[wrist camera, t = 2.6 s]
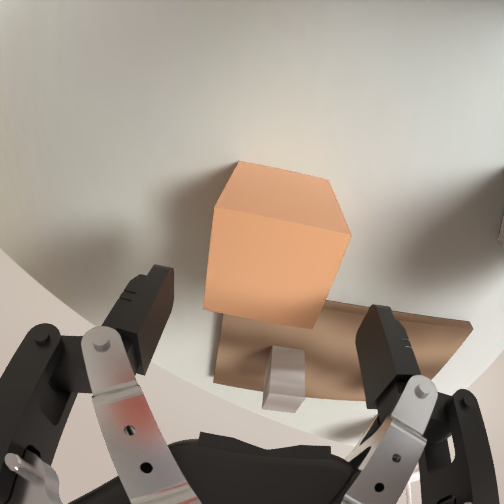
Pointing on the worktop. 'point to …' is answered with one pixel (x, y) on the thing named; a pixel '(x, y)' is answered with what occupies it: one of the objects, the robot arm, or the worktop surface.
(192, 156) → the worktop surface
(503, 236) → the skincare box
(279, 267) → the light orange block
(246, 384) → the post board
